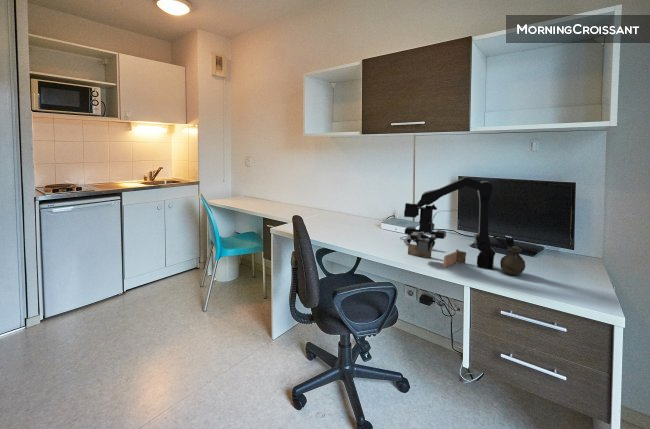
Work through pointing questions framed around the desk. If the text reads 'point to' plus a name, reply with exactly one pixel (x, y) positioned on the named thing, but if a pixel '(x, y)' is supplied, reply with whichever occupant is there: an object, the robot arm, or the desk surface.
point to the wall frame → (414, 251)
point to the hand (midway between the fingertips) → (424, 249)
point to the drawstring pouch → (513, 261)
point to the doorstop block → (423, 246)
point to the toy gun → (410, 238)
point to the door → (450, 259)
